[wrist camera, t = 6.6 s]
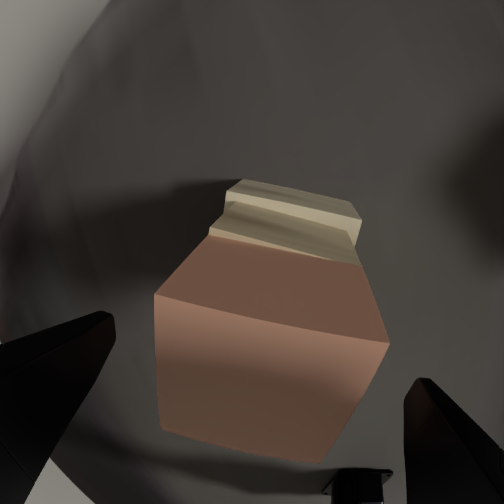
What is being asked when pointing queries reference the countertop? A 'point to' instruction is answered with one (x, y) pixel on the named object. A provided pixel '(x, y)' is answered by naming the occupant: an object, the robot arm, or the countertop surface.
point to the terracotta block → (264, 348)
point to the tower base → (297, 204)
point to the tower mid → (284, 233)
